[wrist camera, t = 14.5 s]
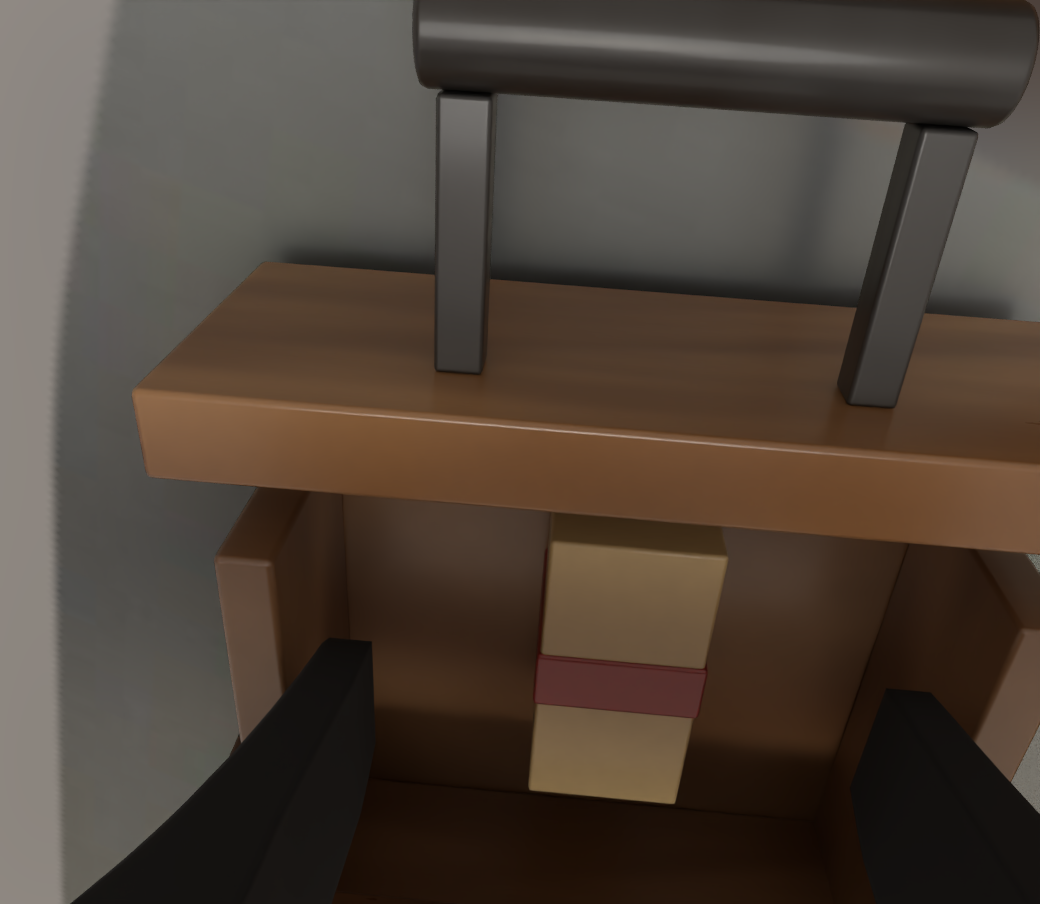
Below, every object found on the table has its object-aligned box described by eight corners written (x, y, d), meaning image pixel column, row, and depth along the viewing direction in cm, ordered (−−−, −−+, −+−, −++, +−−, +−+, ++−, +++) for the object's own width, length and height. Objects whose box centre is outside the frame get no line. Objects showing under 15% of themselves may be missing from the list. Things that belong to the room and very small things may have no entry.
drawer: (231, -62, 12) (41, -62, 8) (1164, 1, 11) (1481, 33, 7) (308, 754, 20) (234, 965, 16) (858, 808, 19) (929, 1038, 15)
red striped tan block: (666, 687, 17) (678, 809, 14) (533, 674, 17) (524, 794, 14) (710, 457, 14) (734, 560, 12) (553, 444, 14) (546, 544, 12)
